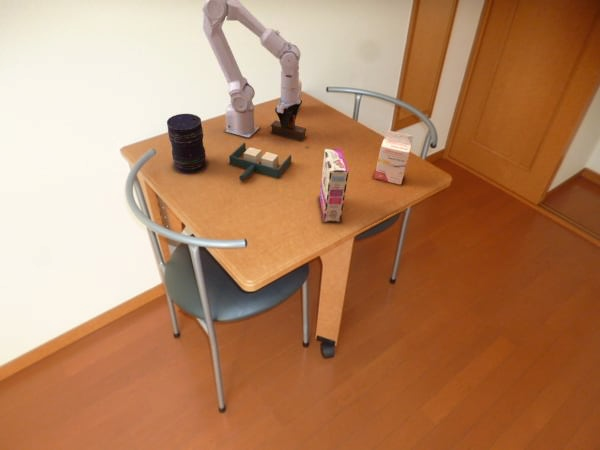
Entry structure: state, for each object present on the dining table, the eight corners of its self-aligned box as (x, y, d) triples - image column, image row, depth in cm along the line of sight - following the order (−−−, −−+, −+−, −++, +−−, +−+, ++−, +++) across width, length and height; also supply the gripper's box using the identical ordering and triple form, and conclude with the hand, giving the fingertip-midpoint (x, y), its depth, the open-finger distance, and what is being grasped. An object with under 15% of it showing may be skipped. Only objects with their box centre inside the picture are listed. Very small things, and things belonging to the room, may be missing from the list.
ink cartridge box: (373, 179, 129) (382, 136, 119) (376, 170, 133) (385, 129, 123) (401, 185, 127) (411, 142, 118) (403, 176, 131) (414, 135, 121)
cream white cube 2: (261, 168, 131) (260, 157, 128) (266, 162, 133) (266, 151, 131) (272, 172, 130) (272, 161, 127) (278, 165, 132) (278, 154, 130)
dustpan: (217, 175, 127) (217, 167, 125) (244, 150, 138) (244, 142, 136) (267, 190, 122) (267, 182, 120) (291, 163, 134) (291, 155, 132)
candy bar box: (342, 222, 113) (349, 171, 102) (323, 222, 112) (329, 171, 102) (336, 197, 121) (342, 147, 110) (318, 197, 121) (323, 147, 110)
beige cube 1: (244, 163, 132) (243, 153, 130) (250, 157, 135) (249, 147, 132) (255, 167, 131) (255, 156, 129) (261, 161, 134) (261, 150, 131)
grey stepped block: (270, 133, 148) (270, 112, 142) (275, 129, 150) (275, 108, 145) (301, 141, 144) (303, 120, 139) (305, 137, 147) (307, 116, 142)
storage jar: (179, 176, 125) (171, 132, 116) (170, 160, 132) (162, 116, 122) (211, 169, 129) (206, 125, 119) (201, 154, 135) (195, 111, 126)
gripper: (291, 96, 129) (290, 135, 138) (309, 80, 140) (307, 118, 148) (271, 92, 131) (271, 131, 140) (290, 76, 142) (289, 113, 150)
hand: (288, 124), depth 145 cm, fingers open, 6 cm apart
